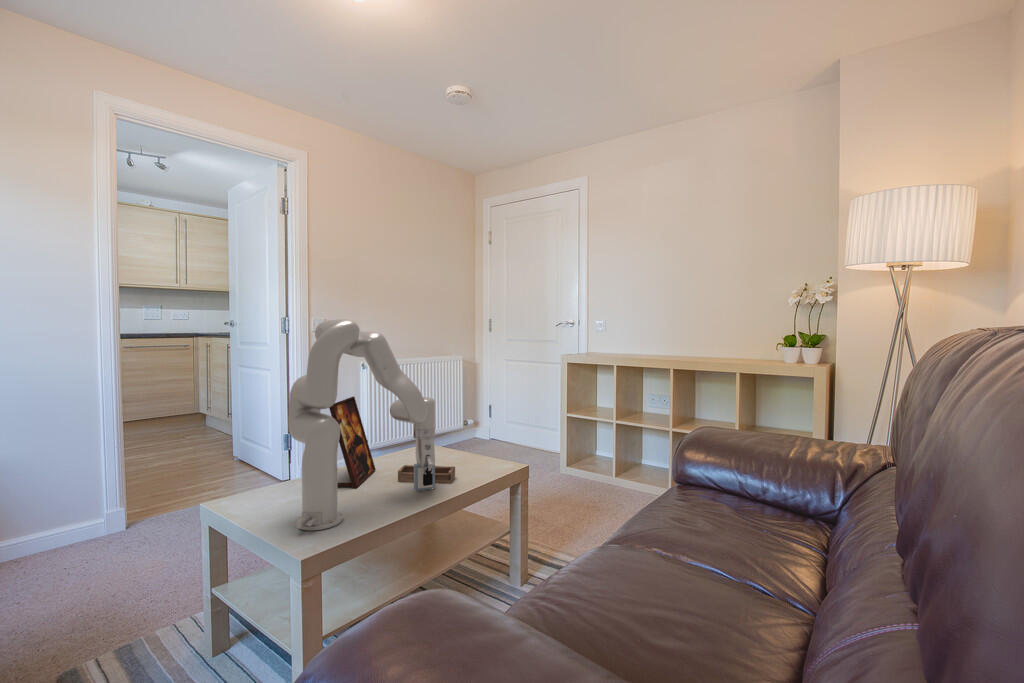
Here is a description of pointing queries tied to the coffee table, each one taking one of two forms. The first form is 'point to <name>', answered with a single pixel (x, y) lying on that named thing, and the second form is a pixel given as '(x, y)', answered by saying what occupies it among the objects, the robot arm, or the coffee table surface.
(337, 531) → the coffee table surface
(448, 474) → the wooden tray box
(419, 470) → the blue frame tile
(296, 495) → the coffee table surface
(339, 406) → the picture frame
